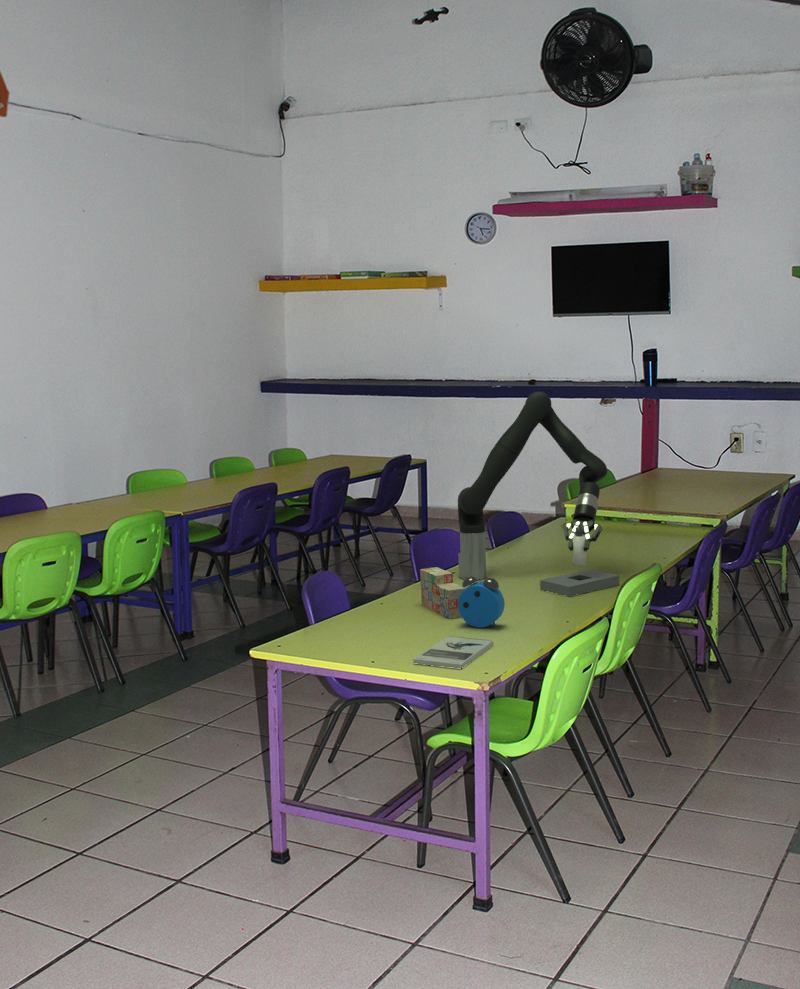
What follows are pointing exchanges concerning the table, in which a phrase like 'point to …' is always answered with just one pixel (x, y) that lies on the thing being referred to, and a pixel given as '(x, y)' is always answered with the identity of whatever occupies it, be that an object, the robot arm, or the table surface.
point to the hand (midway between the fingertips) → (577, 549)
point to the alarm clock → (480, 602)
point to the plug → (579, 548)
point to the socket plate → (579, 582)
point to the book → (453, 652)
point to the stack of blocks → (440, 592)
